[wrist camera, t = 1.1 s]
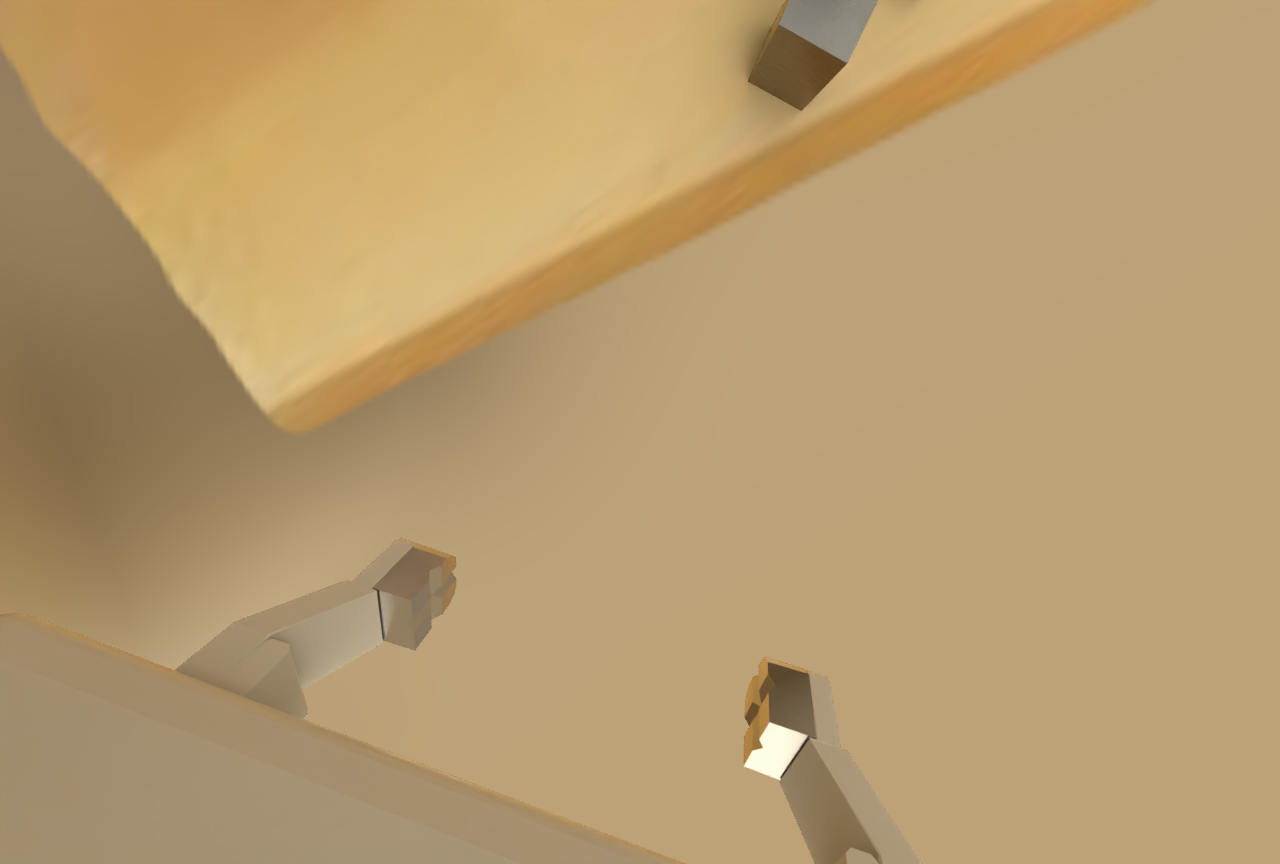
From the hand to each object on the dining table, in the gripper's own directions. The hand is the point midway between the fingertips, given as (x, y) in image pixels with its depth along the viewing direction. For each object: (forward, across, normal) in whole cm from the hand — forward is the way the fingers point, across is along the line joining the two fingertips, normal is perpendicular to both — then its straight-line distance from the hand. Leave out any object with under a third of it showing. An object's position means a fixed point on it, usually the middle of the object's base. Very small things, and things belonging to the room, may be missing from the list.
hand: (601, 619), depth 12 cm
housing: (+40, 0, -19) cm, 44 cm away
